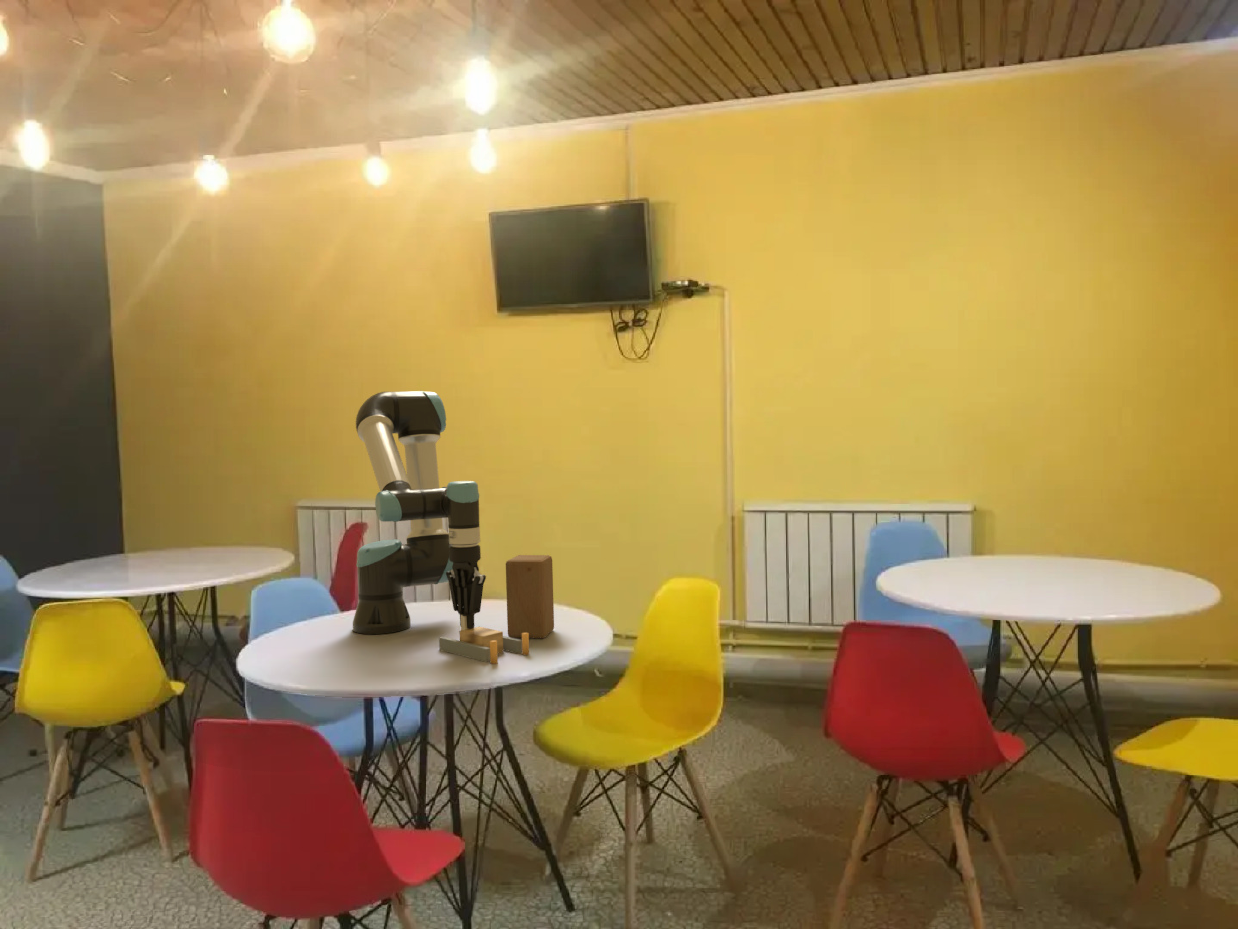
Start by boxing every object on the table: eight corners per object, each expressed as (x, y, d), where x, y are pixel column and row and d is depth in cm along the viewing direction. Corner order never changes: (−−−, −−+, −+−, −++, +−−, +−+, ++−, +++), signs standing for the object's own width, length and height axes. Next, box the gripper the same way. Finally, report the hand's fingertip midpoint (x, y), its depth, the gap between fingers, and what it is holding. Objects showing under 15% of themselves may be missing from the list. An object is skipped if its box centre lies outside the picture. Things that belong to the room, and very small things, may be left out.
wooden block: (544, 639, 231) (542, 560, 229) (506, 638, 233) (504, 560, 231) (555, 630, 240) (553, 554, 239) (518, 629, 242) (516, 554, 241)
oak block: (460, 651, 221) (459, 631, 221) (479, 646, 225) (479, 626, 225) (483, 657, 215) (482, 636, 214) (503, 652, 219) (502, 631, 219)
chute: (438, 650, 223) (438, 629, 222) (475, 641, 231) (474, 621, 230) (493, 664, 208) (492, 642, 208) (530, 654, 217) (530, 633, 216)
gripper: (435, 544, 224) (439, 640, 225) (468, 548, 215) (472, 648, 216) (460, 541, 230) (463, 634, 231) (493, 545, 221) (496, 642, 222)
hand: (467, 641), depth 223 cm, fingers closed
